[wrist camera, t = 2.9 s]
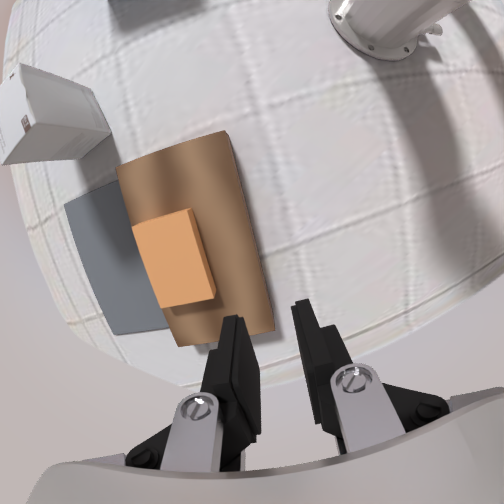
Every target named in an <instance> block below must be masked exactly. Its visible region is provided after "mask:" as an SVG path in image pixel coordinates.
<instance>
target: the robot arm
mask: <svg viewBox="0 0 504 504" xmlns="http://www.w3.org/2000/svg"><path fill="white" fill-rule="evenodd" d="M470 1H471V0H330V2H329V6H328V12H329V17H330V19H331V22H332V24H333V25H334V27H335V29H336V30H337V31H338V32H339V34H340V35H341V36H342V37H343V38H344V39H345V40H346V41H347V42H348V43H350V44H351V45H352V46H354V47H355V48H357V49H358V50H360V51H362V52H363V53H365V54H367V55H370V56H372V57H374V58H378V59H381V60H388V61H396V60H401V59H404V58H405V57H407V56H409V55H410V54H411V53H412V52H413V51H414V50H415V48H416V45H417V36H418V35H420V34H426V33H429V34H433V35H438V36H441V35H442V33H443V32H442V27H441V26H440V25H439V24H435V23H436V22H437V21H439V20H440V19H442V18H443V17H445V16H446V15H448V14H450V13H451V12H453V11H455V10H456V9H458V8H459V7H461V6H463V5H464V4H466V3H468V2H470ZM295 304H296V305H294V306H291V310H292V315H293V320H294V325H295V330H296V335H297V340H298V345H299V350H300V355H301V360H302V365H303V369H304V374H305V378H306V383H307V387H308V392H309V396H310V401H311V406H312V410H313V415H314V420H315V424H320V423H321V425H322V429H323V431H325V432H327V433H330V434H332V435H334V436H335V441H336V445H337V449H338V454H339V456H335V457H332V458H327V459H323V460H318V461H313V462H309V463H303V464H298V465H293V466H285V467H279V468H271V469H262V470H252V471H245V448H246V447H248V446H249V445H250V444H251V443H256V435H260V434H261V399H260V370H259V365H258V362H257V359H256V356H255V352H254V349H253V346H252V343H251V340H250V336H249V333H248V330H247V327H246V324H245V320H244V318H243V317H239V316H238V315H237V314H236V315H230V316H225V317H224V318H223V323H222V328H221V333H220V338H219V343H218V349H214V350H210V351H209V354H208V359H207V363H206V368H205V372H204V376H203V381H202V386H201V390H200V392H199V393H194V394H191V395H189V396H187V397H186V398H185V399H183V400H182V401H181V402H180V403H179V405H178V406H177V408H176V412H175V416H174V419H173V423H172V424H171V425H169V426H168V427H166V428H165V429H163V430H162V431H160V432H158V433H157V434H155V435H154V436H152V437H151V438H149V439H147V440H146V441H144V442H143V443H141V444H139V445H138V446H136V447H134V448H133V449H132V450H131V451H130V452H129V453H128V454H127V455H125V454H124V453H122V454H117V455H112V456H106V457H100V458H94V459H87V460H83V461H73V462H65V463H59V464H56V465H53V466H51V467H49V468H48V469H47V470H46V471H45V472H44V473H43V474H42V476H41V477H40V479H39V480H38V482H37V483H36V485H35V486H34V489H33V490H32V492H31V494H30V496H29V499H28V501H27V503H26V504H504V388H503V387H495V388H491V389H486V390H482V391H477V392H472V393H467V394H462V395H456V396H451V397H450V400H444V399H442V398H441V397H438V396H436V395H431V394H426V393H422V392H418V391H413V390H409V389H405V388H400V387H396V386H392V385H388V384H385V383H381V381H380V379H379V377H378V375H377V373H376V371H375V370H374V369H373V368H371V367H370V366H368V365H365V364H357V363H354V364H353V362H352V360H351V358H350V355H349V353H348V351H347V349H346V347H345V345H344V343H343V340H342V338H341V336H340V334H339V332H338V330H337V328H336V326H335V325H330V326H326V327H322V328H320V327H319V324H318V322H317V319H316V317H315V314H314V311H313V309H312V306H311V304H310V301H309V299H304V300H300V301H296V302H295Z"/></svg>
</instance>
